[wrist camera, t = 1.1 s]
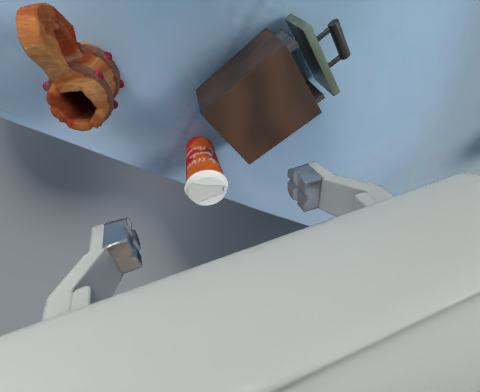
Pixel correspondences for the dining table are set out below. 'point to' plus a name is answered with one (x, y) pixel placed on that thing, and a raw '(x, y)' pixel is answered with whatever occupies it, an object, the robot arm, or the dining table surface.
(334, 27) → the drawer
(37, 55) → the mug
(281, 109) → the cabinet
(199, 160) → the paper cup
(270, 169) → the dining table surface
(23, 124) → the dining table surface
